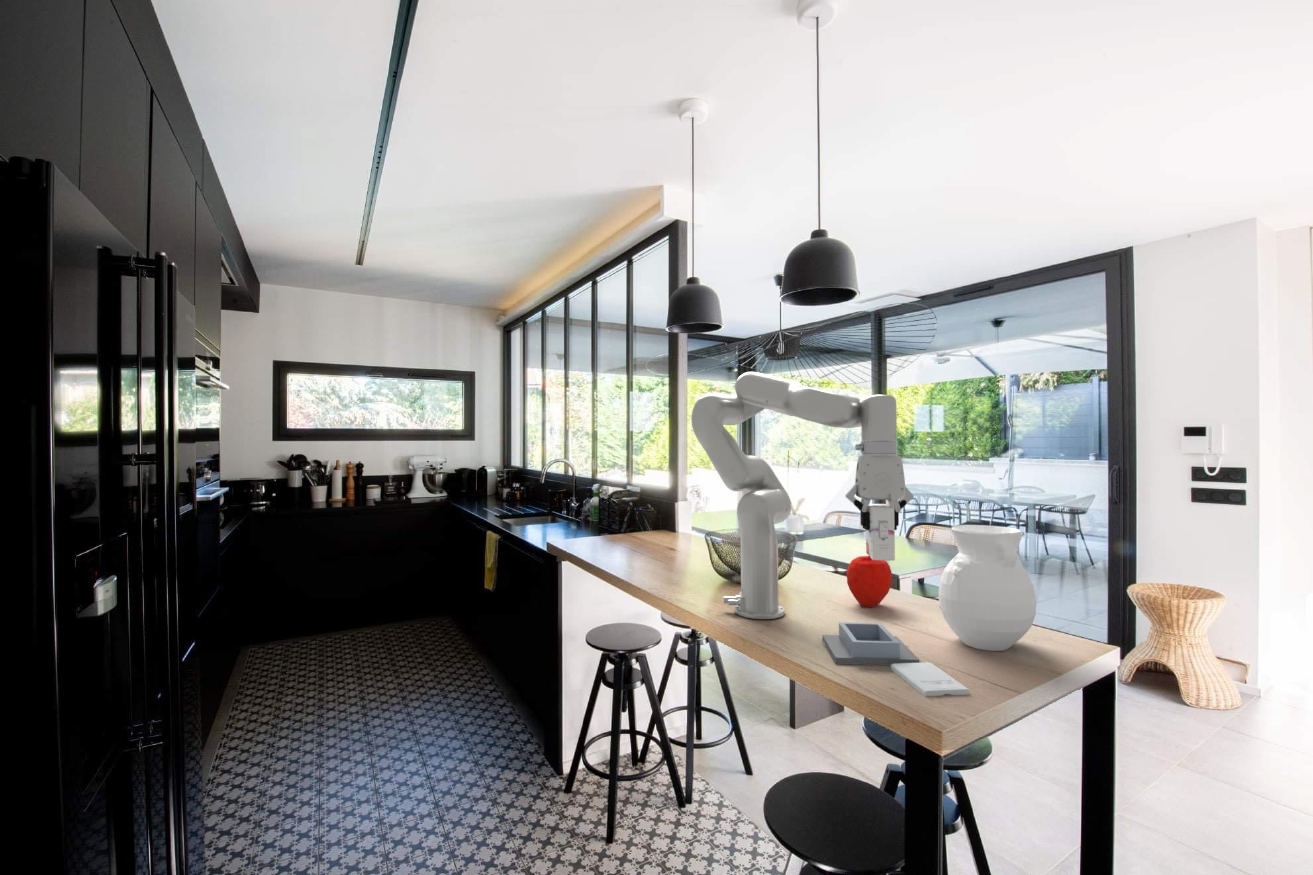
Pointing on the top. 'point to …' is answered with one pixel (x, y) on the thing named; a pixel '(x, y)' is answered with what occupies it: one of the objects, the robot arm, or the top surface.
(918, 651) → the top surface
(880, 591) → the apple
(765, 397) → the robot arm
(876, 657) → the dock
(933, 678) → the external hard drive
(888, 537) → the ink cartridge box
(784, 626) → the top surface
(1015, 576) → the white vase
